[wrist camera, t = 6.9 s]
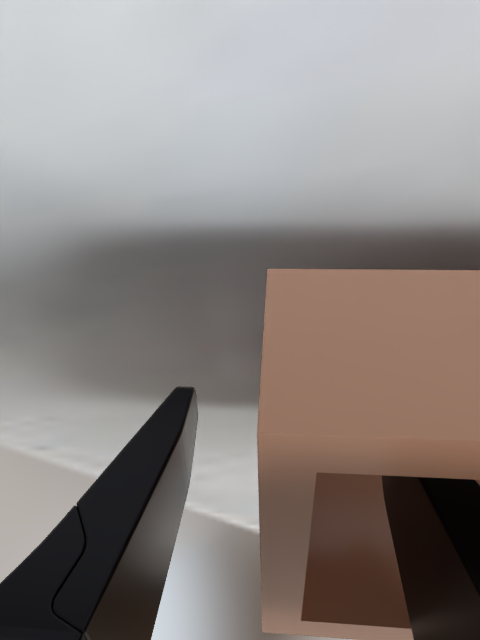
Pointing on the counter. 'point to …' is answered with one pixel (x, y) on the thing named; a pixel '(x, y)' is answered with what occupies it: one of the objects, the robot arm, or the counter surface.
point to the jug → (357, 434)
